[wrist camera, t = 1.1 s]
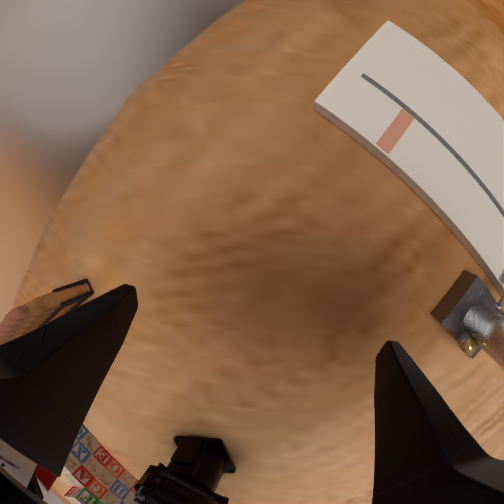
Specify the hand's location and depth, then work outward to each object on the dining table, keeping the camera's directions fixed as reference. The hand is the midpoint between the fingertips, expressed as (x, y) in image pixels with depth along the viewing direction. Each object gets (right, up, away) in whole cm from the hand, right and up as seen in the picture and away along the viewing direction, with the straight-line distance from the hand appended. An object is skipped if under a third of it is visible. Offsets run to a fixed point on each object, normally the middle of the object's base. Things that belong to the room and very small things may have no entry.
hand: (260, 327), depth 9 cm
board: (+19, +10, +9) cm, 23 cm away
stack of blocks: (-25, -35, +25) cm, 50 cm away
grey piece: (+20, -2, +10) cm, 23 cm away
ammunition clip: (-23, -4, +20) cm, 31 cm away
